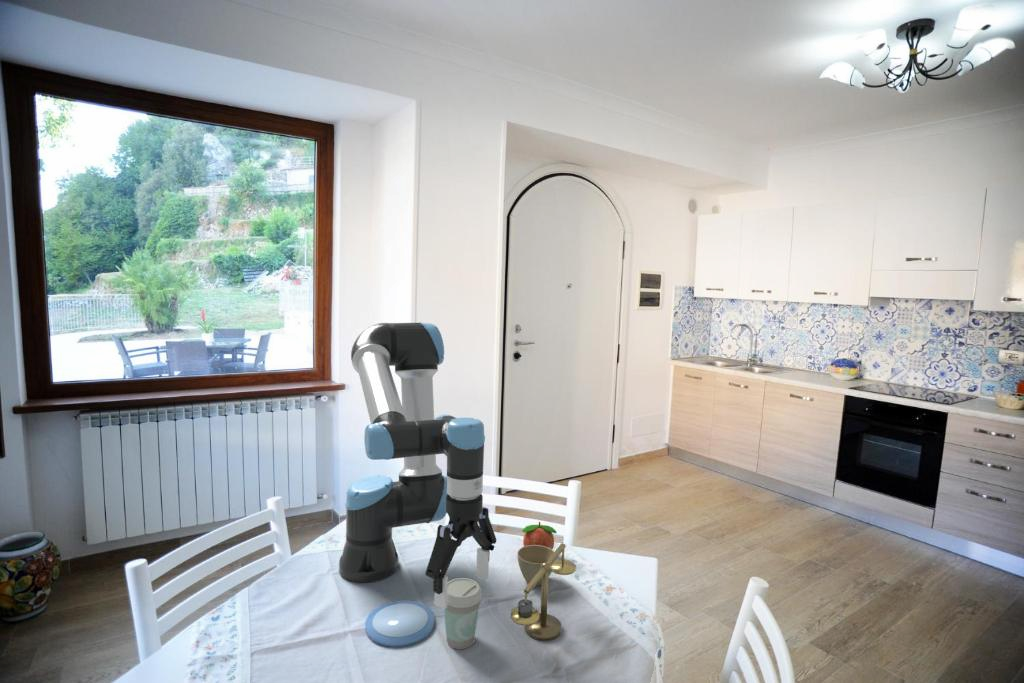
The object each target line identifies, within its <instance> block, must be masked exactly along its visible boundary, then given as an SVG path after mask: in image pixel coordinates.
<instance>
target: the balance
mask: <svg viewBox="0 0 1024 683" xmlns="http://www.w3.org/2000/svg"><path fill="white" fill-rule="evenodd" d="M566 547H567V546H566V544H565V543H564V542H562V543H560V544H559V545H558V547H557V548H556V549H555V550H554V553H553V554H552V555H551V557H550V558H549V559H548V560H547V562H545V563H543V564H542V565H541V569H540V570H539V571H538V573H537V574H536V575H535V576H534V578H533V579H532V580H531V581H530V583H528V584H527V585H526V586H525V588H524V589H523V593H524V599H520V600H519V601H518V602H517V603H518V605H517V606H515V607H513V608H512V610H511V611H510V619H511V621H512V622H514V623H515V624H516V625H519V626H524V631H525V633H526V634H527V635H528V636H529V637H530V638H532V639H534V640H537V641H540V642H547V641H548V642H549V641H553V640H556V639H557V638H559V636H560V635H561V633H562V623H561V621H560V620H559V619H558V617H556V616H555V615H552V614H549V613H548V596H549V594H548V593H549V577H550V576H549V570H551V571H552V572H551V573H554V574H557V575H560V576H568V575H569V576H570V575H572V574H574V573H575V572H576V567H577V566H576V564H575V563H574V562H573V561H571V560H569V559H565V550H566ZM560 555H561V558H559V557H560ZM541 578H542V585H541V590H540V591H541V592H540V593H541V595H540V612H539V610H537V608H535V607H533V606H534V603H533V601H532V600H530V599H528V595H529V594H530V593H531V592H532V590H533V589H534V588H535V587H536V586H537V585H536V584H537V583H538V581H539V580H540V579H541Z"/></svg>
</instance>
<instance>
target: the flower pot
mask: <svg viewBox="0 0 1024 683" xmlns="http://www.w3.org/2000/svg"><path fill="white" fill-rule="evenodd" d="M554 552H555V550H554V549H553V550H552V549H550V548H548V547H545V546H540V545H529V546H525V547H524V546H522V547H521V548H519V549H518V550H517V555H516V556H517V562H518V567H519V570H520V572H521V575H522V576H523V578H524V580H525V582H526V583H528V584H529V583H530V581H531V580H532V579H533V578H534V576H535V575H536V574H537V573H538V571H539V570H540V569H541V565H542V564H543V563H545V562H547V560H548V559H549V558H550V557H551V555H552V554H553V553H554ZM552 573H553V572H552V571H551V570H549V577H550V575H551V574H552ZM535 586H542V578H541V579H540V580H539V581H538V583H537V584H536V585H535Z"/></svg>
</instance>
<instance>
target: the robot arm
mask: <svg viewBox="0 0 1024 683" xmlns="http://www.w3.org/2000/svg"><path fill="white" fill-rule="evenodd" d="M439 329H440V328H438V326H437V325H435V324H433V323H427V322H421V321H420V322H381V323H376V324H373V325H371V326H369V327H367V328H366V329H364V330H363V331H362V332H361V333H360V334H359V335H358V336H357V338H356V339H355V341H354V343H353V345H352V347H351V351H350V359H351V364H352V368H353V369H354V370H355V372H356V373H358V376H359V380H360V385H361V389H362V392H363V396H364V400H365V406H366V409H367V413H368V417H369V421H370V424H367V425H366V427H365V429H364V436H363V438H364V450H365V455H366V457H367V458H368V459H370V461H371V460H373V461H374V460H375V461H376V460H379V461H380V460H386V461H387V460H393V459H402V458H403V468H402V470H400V472H398V480H397V481H393V479H392V478H391V477H389V476H387V475H371V476H365V477H362V478H360V479H358V480H357V481H355V482H352V483H351V485H349V487H348V489H347V491H346V495H345V496H346V498H345V504H344V505H345V510H346V511H345V512H346V513H345V514H346V515H345V519H346V520H345V529H346V531H345V544H344V547H343V550H342V554H341V556H340V558H339V562H338V572H339V574H340V575H341V577H343V578H344V579H346V580H347V581H352V582H356V583H373V582H376V581H380V580H384V579H386V578H388V577H391V575H393V574H394V573H395V572H396V571H397V570H398V568H399V554H398V552H397V549H396V546H395V543H394V539H393V529H394V528H400V527H407V526H413V525H419V524H421V525H422V524H431V523H433V522H438V521H442V520H443V519H444V518H445V516H446V515H448V517H449V521H448V523H447V525H442V524H439V525H438V526H437V530H436V539H435V541H434V545H433V548H432V552H431V554H430V557H429V561H428V563H427V567H426V571H425V574H424V575H425V576H426V577H428V578H430V579H433V581H432V582H433V583H432V584H433V586H432V587H433V589H432V590H433V593H434V600H433V601H434V606H436V607H438V608H441V609H443V611H444V610H445V609H446V608H447V583H448V582H449V581H448V579H449V577H448V576H446V573H447V572H448V569H449V568H450V565H451V564H452V560H453V559H454V556H455V554H456V552H457V549H458V547H460V546H461V545H462V544H463V542H464V541H465V540H466V539H467V538H470V537H472V538H473V539H474V540H475V542H476V543H477V544H478V545H479V547H477V548H476V574H475V575H476V576H475V577H476V578H479V579H481V580H484V581H486V582H487V581H488V580H489V563H490V551H491V552H492V551H494V549H495V545H494V544H496V543H497V538H496V537H497V536H496V535H495V534H496V533H495V531H494V529H493V525H492V522H491V520H490V517H489V516H490V515H489V514H490V513H489V509H488V507H485V506H483V504H484V502H483V500H484V498H483V490H484V489H483V485H484V484H483V482H484V480H483V479H484V458H485V441H486V435H485V425H484V423H483V421H481V420H480V419H478V418H474V417H455V416H454V415H450V414H441V415H438V416H436V417H435V407H434V404H435V403H434V382H433V381H434V380H433V379H434V378H433V377H434V376H435V374H436V373H438V370H439V369H438V368H439V367H438V366H439V365H441V364H443V362H444V360H445V358H444V357H445V346H444V339H443V336H442V333H441V331H440V330H439ZM391 366H393V367H394V372H395V375H397V376H398V377H399V378H400V382H401V384H400V385H401V386H400V387H401V388H400V389H401V400H400V397H399V392H398V388H397V387H396V383H395V380H394V378H393V375H392V374H393V373H392V371H391V368H390V367H391ZM442 454H443V455H444V456H446V476H445V475H443V470H442V469H441V468H440V467H439V466H438V465H437V458H436V457H437V455H442Z"/></svg>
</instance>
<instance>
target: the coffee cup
mask: <svg viewBox="0 0 1024 683" xmlns="http://www.w3.org/2000/svg"><path fill="white" fill-rule="evenodd" d="M482 598H483V592H482V590H481V588H480V585H479V582H477V581H476V580H474V579H472V578H466V577H459V578H458V577H457V578H454V579H450V580H449V581H448V583H447V608H446V609H445V610H444V609H443V616H444V625H445V636H446V643H447V644H448V646H449V647H451V648H453V649H457V650H464V649H467V648H470V647H471V646H472V645H473V644H474V642H475V636H476V631H477V623H478V618H479V611H480V610H479V609H480V604H481V603H480V602H481V600H482Z"/></svg>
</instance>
